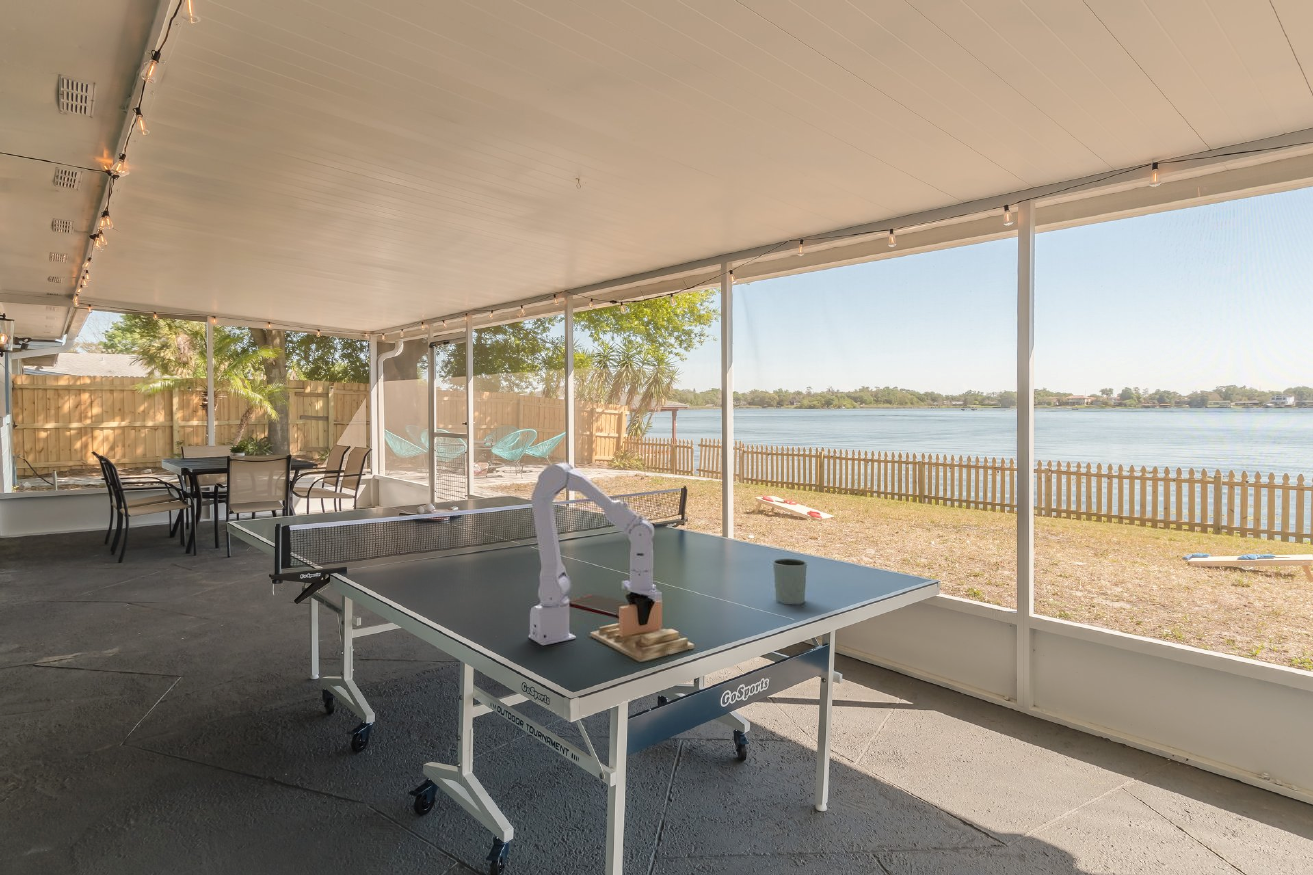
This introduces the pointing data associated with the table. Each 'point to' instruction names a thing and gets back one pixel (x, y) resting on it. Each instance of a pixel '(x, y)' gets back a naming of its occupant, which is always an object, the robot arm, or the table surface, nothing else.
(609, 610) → the dark red board
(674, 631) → the offcut upper
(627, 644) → the rack
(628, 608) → the upright wooden plank
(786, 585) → the green cup
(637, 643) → the offcut lower
